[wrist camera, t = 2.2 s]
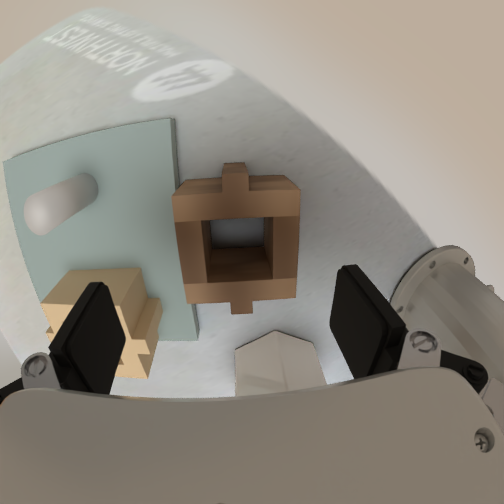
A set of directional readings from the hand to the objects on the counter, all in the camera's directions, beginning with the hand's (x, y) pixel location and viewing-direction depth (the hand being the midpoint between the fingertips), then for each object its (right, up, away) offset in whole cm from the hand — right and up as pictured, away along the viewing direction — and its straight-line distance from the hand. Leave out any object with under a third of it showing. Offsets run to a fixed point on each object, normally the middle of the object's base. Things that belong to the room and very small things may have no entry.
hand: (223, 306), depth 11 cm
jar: (+3, -9, +17) cm, 19 cm away
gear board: (-12, +3, +10) cm, 16 cm away
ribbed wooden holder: (0, +4, +10) cm, 11 cm away
